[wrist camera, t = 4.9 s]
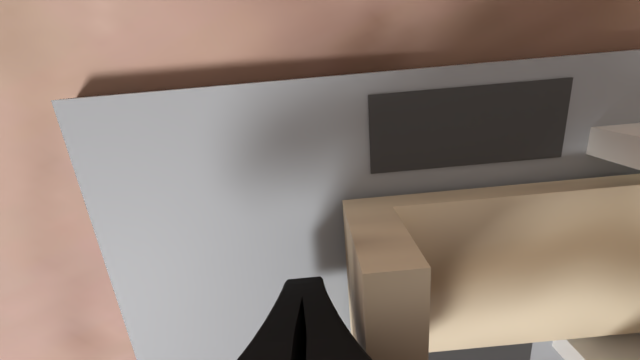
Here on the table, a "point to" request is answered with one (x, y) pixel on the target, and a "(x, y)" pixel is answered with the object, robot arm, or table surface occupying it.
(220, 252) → the plate
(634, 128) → the tunnel
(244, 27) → the table surface
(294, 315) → the robot arm
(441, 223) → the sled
